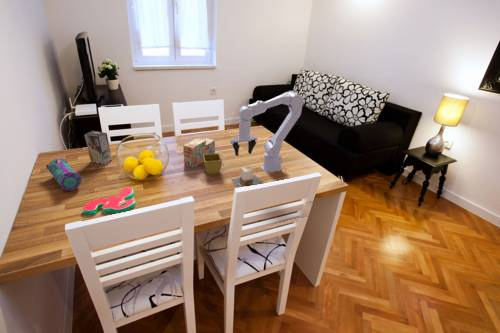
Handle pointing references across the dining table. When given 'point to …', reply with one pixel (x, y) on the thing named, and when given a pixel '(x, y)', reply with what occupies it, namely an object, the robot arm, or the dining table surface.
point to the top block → (246, 173)
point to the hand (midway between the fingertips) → (243, 154)
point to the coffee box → (98, 147)
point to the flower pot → (212, 163)
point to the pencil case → (64, 174)
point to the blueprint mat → (255, 178)
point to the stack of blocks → (197, 151)
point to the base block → (246, 182)
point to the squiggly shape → (112, 203)
